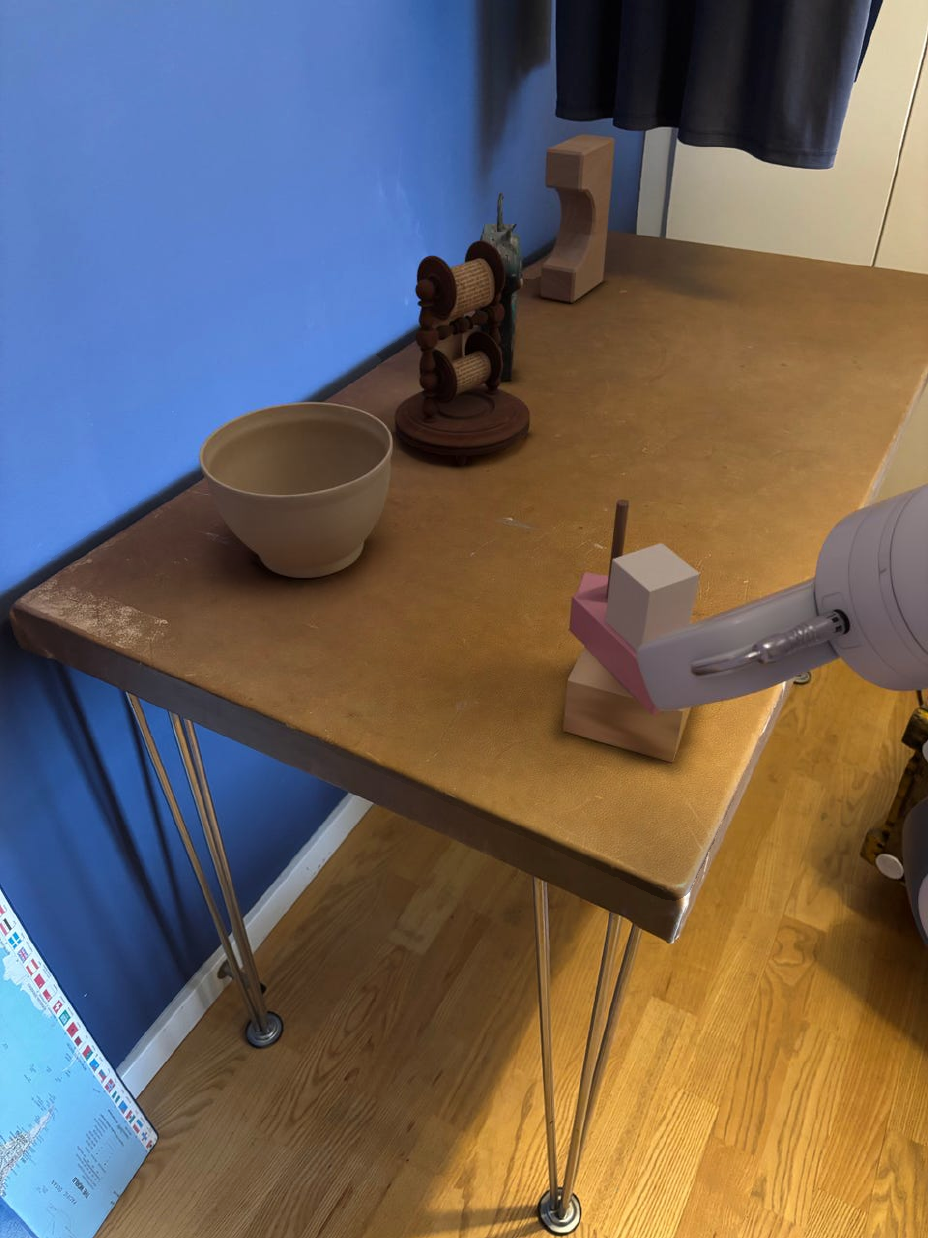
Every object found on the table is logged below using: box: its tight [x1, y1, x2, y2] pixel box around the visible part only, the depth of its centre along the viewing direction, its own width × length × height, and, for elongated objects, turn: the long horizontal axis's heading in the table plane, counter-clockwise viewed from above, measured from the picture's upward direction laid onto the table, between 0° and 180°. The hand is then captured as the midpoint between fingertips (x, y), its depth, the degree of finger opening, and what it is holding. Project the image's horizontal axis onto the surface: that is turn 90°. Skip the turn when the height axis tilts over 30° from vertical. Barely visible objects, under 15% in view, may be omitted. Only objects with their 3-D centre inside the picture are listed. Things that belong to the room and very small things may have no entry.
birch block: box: [562, 645, 692, 763], centre depth 66 cm, size 8×8×5 cm
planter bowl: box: [198, 401, 394, 579], centre depth 80 cm, size 16×16×11 cm
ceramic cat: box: [472, 192, 524, 382], centre depth 112 cm, size 20×6×20 cm, turn 179°
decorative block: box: [539, 133, 616, 304], centre depth 131 cm, size 11×6×20 cm, turn 148°
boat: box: [568, 499, 701, 715], centre depth 61 cm, size 12×5×11 cm, turn 28°
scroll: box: [394, 239, 531, 466], centre depth 95 cm, size 15×15×20 cm
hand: (735, 635), depth 54 cm, fingers open, 8 cm apart
